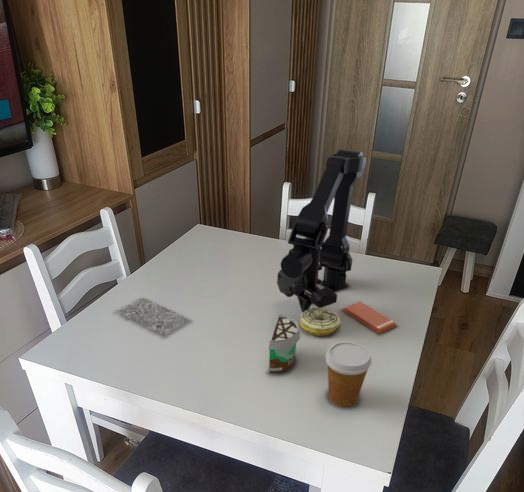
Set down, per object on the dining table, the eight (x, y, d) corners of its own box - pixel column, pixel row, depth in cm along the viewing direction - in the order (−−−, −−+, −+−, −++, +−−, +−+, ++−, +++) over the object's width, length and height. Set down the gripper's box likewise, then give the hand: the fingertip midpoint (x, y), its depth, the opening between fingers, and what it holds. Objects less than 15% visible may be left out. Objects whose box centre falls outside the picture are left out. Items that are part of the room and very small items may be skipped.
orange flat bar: (342, 311, 137) (343, 306, 136) (359, 304, 140) (359, 300, 139) (379, 334, 127) (379, 329, 126) (395, 326, 130) (396, 322, 130)
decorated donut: (347, 326, 130) (348, 314, 128) (323, 343, 124) (324, 331, 121) (316, 312, 136) (317, 300, 134) (291, 327, 129) (292, 315, 127)
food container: (294, 380, 111) (296, 345, 106) (268, 377, 112) (269, 341, 107) (301, 349, 121) (304, 315, 116) (277, 346, 122) (278, 312, 117)
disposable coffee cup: (317, 384, 110) (322, 341, 103) (358, 382, 111) (365, 339, 104) (325, 413, 102) (330, 368, 96) (370, 411, 103) (378, 366, 96)
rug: (142, 298, 141) (141, 295, 141) (190, 321, 131) (190, 318, 131) (114, 312, 135) (114, 309, 134) (163, 337, 125) (163, 334, 124)
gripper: (261, 255, 127) (261, 306, 136) (306, 284, 115) (302, 338, 124) (295, 246, 132) (292, 295, 141) (341, 272, 120) (335, 325, 129)
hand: (304, 312), depth 134 cm, fingers closed
